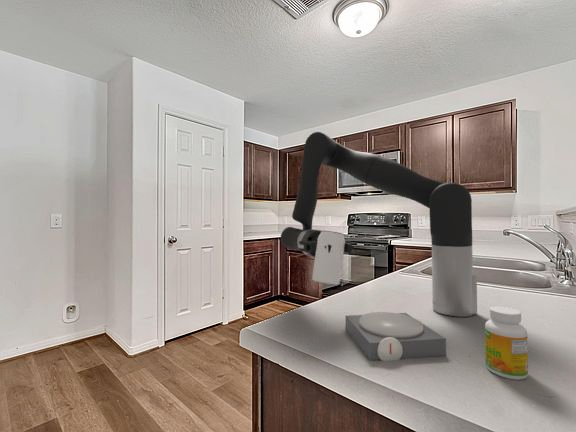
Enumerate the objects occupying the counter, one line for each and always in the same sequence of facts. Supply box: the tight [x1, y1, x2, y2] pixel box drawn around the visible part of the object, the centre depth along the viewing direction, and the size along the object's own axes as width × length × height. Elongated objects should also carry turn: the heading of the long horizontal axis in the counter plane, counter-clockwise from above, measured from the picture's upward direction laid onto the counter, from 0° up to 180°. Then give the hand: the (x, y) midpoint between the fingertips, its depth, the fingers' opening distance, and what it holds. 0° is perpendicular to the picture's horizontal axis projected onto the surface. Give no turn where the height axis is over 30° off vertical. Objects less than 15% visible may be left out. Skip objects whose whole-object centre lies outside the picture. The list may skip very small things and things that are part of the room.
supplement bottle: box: [484, 305, 529, 381], centre depth 46 cm, size 5×5×10 cm
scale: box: [345, 311, 447, 362], centre depth 57 cm, size 14×15×4 cm
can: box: [311, 230, 346, 286], centre depth 68 cm, size 6×6×12 cm
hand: (340, 248), depth 66 cm, fingers closed on can, 4 cm apart
